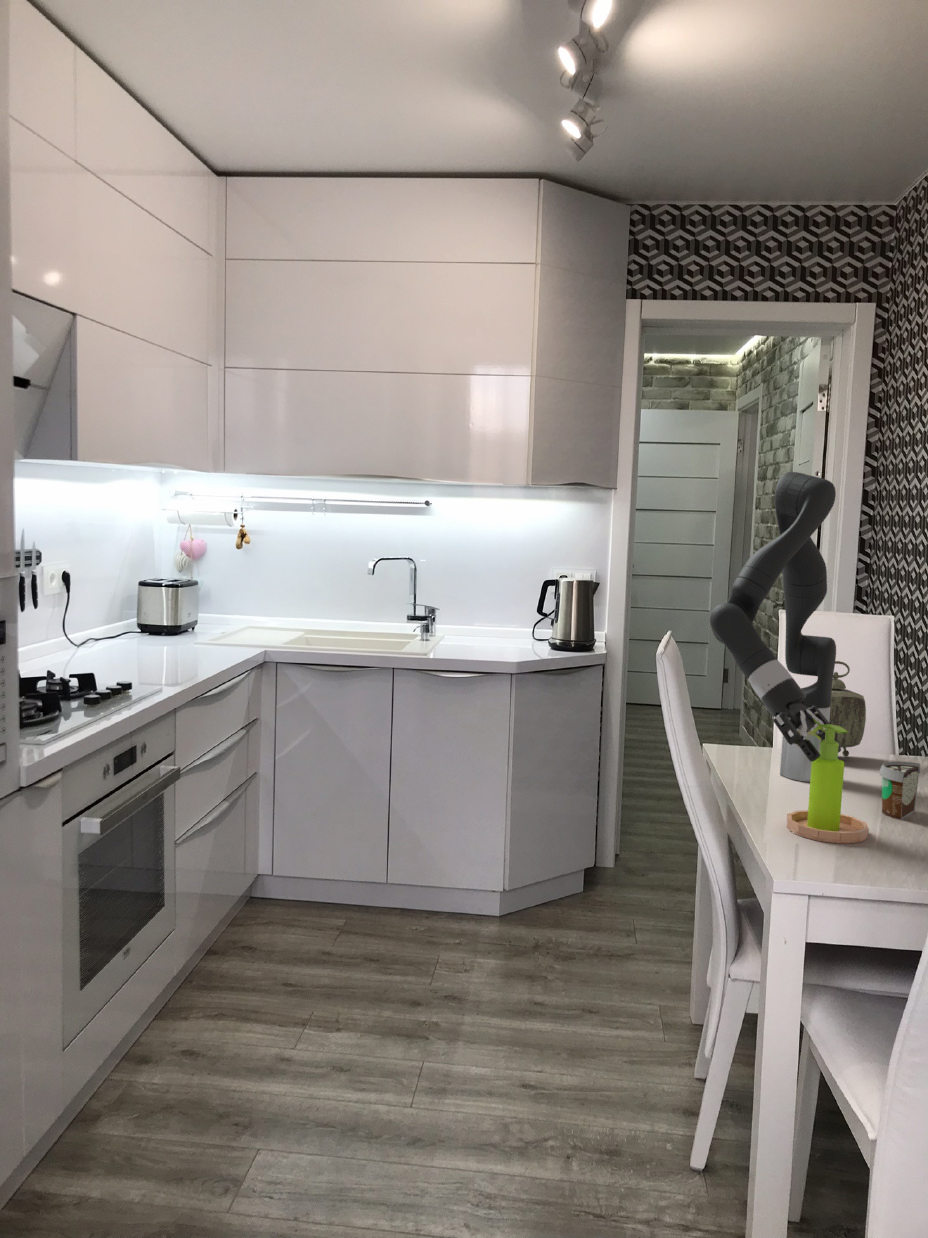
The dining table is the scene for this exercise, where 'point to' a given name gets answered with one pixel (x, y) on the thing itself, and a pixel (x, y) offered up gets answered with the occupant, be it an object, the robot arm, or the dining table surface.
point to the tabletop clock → (847, 712)
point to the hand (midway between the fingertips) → (826, 756)
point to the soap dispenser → (826, 784)
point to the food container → (899, 788)
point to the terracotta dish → (847, 833)
